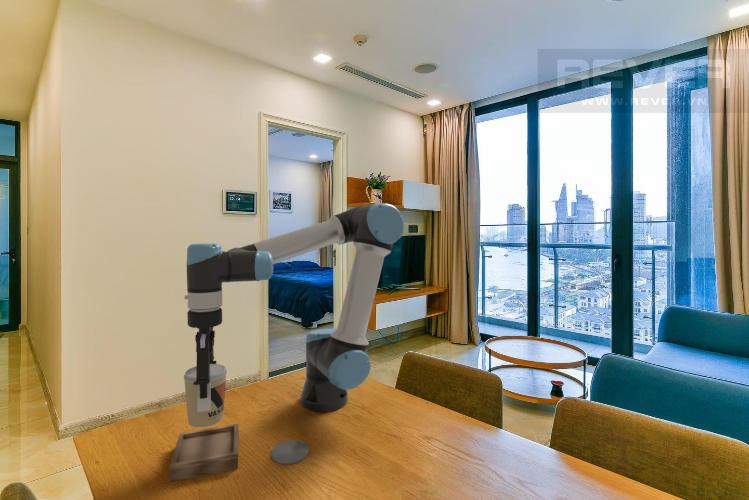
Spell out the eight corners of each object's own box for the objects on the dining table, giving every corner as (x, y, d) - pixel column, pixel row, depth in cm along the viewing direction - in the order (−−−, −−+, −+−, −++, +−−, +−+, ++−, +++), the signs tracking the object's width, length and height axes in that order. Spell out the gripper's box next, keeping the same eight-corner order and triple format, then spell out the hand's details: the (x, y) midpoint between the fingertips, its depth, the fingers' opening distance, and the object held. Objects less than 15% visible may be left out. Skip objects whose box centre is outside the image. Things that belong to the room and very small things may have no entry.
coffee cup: (211, 431, 83) (210, 379, 83) (175, 426, 85) (174, 376, 84) (234, 412, 92) (234, 365, 92) (201, 407, 94) (201, 361, 94)
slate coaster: (305, 440, 97) (305, 437, 97) (311, 460, 88) (311, 457, 88) (269, 446, 94) (269, 444, 94) (272, 468, 85) (272, 465, 85)
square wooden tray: (238, 436, 98) (238, 423, 98) (238, 468, 85) (237, 453, 85) (180, 446, 94) (179, 433, 93) (169, 482, 80) (169, 466, 80)
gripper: (193, 300, 96) (194, 384, 98) (180, 320, 76) (181, 426, 77) (224, 299, 99) (225, 381, 100) (219, 317, 78) (220, 420, 79)
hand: (206, 400), depth 89 cm, fingers closed on coffee cup, 9 cm apart
